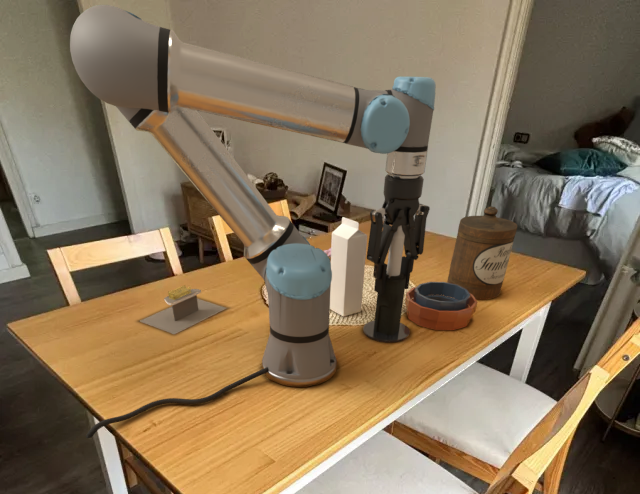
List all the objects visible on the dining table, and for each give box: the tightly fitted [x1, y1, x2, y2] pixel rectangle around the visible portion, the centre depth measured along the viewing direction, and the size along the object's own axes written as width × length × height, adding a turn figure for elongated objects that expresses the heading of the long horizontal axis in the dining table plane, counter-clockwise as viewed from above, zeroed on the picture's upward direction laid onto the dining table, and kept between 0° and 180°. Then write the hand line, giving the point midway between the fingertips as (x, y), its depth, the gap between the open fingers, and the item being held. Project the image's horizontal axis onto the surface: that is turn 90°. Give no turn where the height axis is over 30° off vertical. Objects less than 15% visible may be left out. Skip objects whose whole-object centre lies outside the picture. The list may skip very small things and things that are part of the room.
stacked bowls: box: [404, 281, 478, 331], centre depth 119 cm, size 17×17×6 cm
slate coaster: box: [362, 319, 411, 344], centre depth 113 cm, size 11×11×1 cm
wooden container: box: [446, 205, 518, 301], centre depth 129 cm, size 15×15×22 cm
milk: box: [330, 216, 368, 318], centre depth 116 cm, size 6×6×22 cm
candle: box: [374, 225, 406, 335], centre depth 105 cm, size 5×5×25 cm
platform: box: [139, 284, 227, 335], centre depth 116 cm, size 12×18×7 cm, turn 147°
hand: (391, 289), depth 107 cm, fingers closed on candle, 6 cm apart
